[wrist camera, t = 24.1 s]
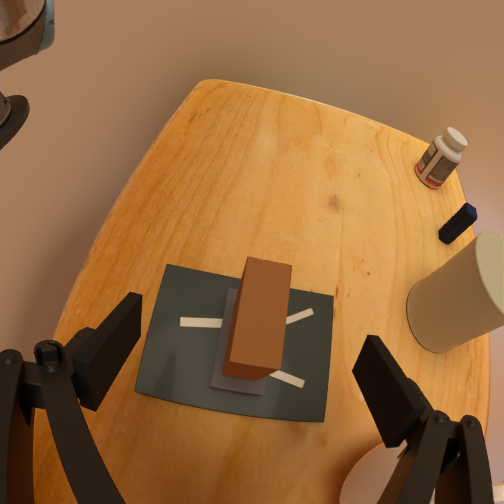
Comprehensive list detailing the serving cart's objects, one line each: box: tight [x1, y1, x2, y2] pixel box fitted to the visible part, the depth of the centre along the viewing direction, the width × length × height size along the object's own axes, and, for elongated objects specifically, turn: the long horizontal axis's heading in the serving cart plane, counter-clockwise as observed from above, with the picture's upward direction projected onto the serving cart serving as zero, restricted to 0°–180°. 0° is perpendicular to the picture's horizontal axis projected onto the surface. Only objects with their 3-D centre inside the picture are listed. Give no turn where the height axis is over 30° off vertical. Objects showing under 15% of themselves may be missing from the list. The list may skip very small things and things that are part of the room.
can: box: [407, 230, 504, 353], centre depth 24 cm, size 9×9×12 cm
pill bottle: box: [415, 127, 467, 189], centre depth 37 cm, size 5×5×10 cm
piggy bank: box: [339, 440, 504, 504], centre depth 13 cm, size 12×12×15 cm
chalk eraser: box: [210, 257, 292, 396], centre depth 20 cm, size 4×8×10 cm, turn 171°
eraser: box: [439, 203, 477, 244], centre depth 33 cm, size 2×2×7 cm
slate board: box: [134, 264, 334, 422], centre depth 25 cm, size 16×12×1 cm
